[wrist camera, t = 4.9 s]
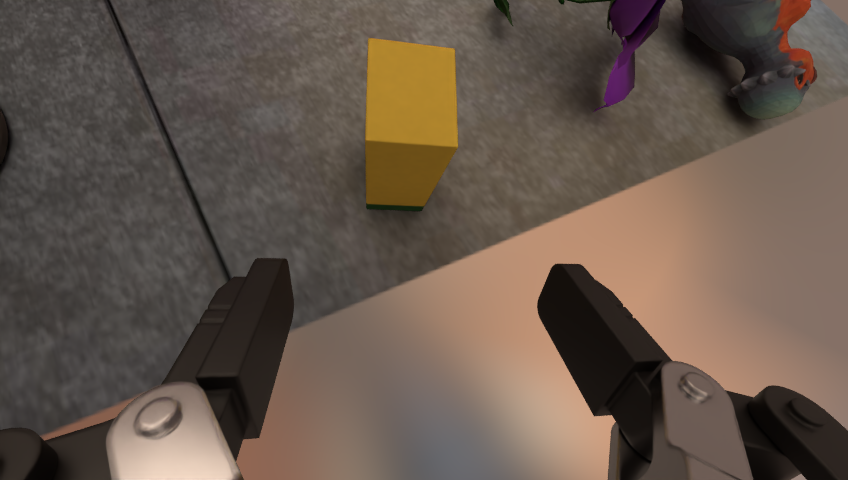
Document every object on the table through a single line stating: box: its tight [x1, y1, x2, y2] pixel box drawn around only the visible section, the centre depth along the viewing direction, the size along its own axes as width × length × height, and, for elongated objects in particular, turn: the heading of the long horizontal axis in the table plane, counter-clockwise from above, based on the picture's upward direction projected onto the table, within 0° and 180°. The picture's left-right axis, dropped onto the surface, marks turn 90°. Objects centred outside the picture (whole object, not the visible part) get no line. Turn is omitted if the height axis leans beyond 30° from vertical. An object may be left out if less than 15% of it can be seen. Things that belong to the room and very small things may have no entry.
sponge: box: [365, 38, 458, 211], centre depth 19 cm, size 4×5×10 cm
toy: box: [681, 0, 817, 119], centre depth 28 cm, size 19×11×15 cm
